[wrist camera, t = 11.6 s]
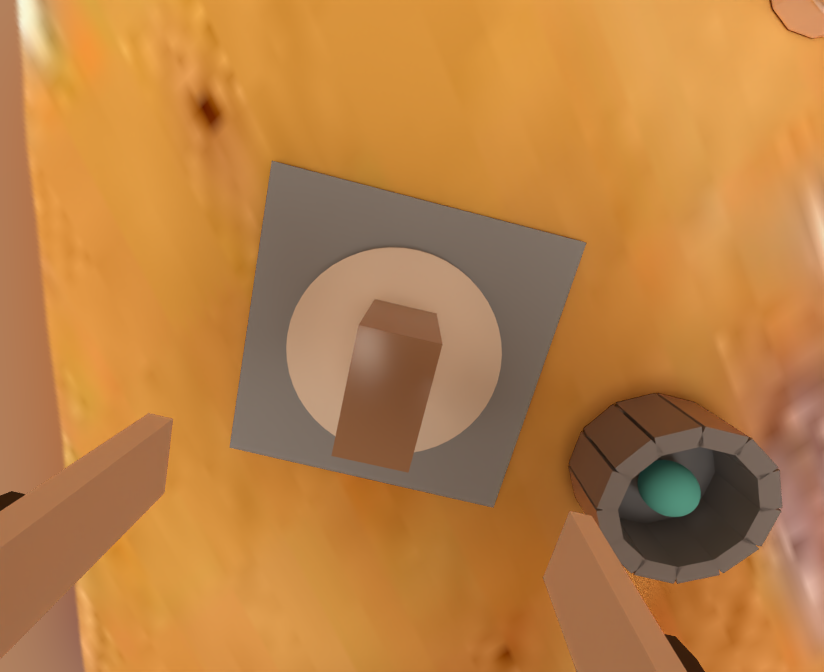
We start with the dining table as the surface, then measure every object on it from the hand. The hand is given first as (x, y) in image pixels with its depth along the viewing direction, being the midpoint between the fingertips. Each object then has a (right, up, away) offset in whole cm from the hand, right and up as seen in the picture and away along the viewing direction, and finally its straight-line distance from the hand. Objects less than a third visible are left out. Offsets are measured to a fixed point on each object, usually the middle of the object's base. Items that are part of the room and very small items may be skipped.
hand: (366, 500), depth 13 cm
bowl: (+19, -4, +17) cm, 26 cm away
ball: (+19, -4, +16) cm, 25 cm away
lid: (0, +4, +14) cm, 15 cm away
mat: (0, +4, +15) cm, 16 cm away
